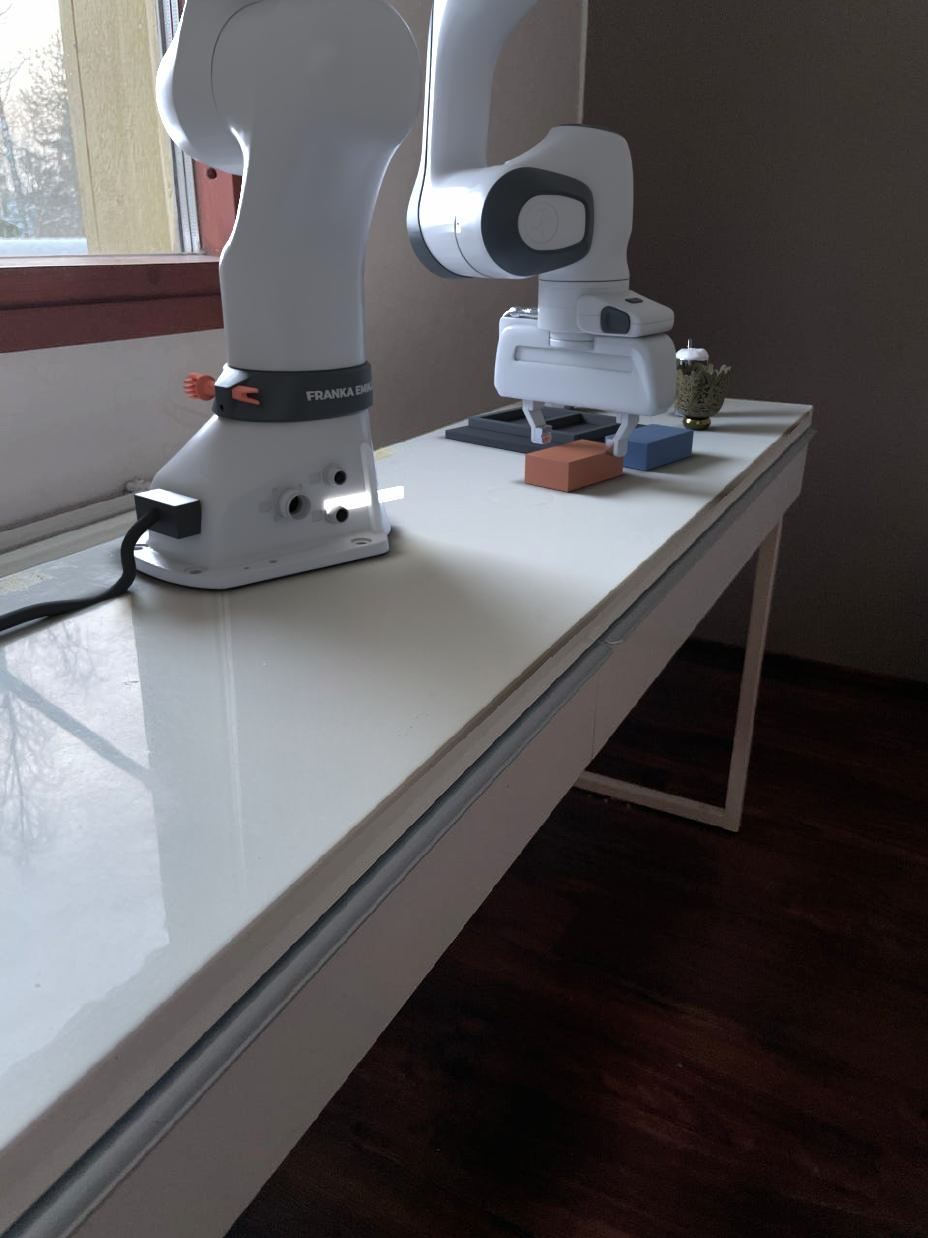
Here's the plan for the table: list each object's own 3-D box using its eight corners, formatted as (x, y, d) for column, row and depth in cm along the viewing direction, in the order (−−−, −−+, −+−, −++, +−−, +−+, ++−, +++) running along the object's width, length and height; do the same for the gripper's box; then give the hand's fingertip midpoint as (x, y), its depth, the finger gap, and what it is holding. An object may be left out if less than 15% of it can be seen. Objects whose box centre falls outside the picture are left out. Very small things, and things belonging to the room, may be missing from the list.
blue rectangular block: (645, 470, 103) (647, 443, 102) (603, 463, 106) (604, 436, 105) (691, 455, 110) (694, 429, 109) (650, 448, 113) (652, 423, 112)
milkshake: (699, 411, 137) (706, 339, 133) (704, 418, 132) (712, 343, 128) (667, 410, 137) (673, 338, 133) (671, 417, 132) (678, 342, 128)
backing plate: (561, 460, 108) (562, 440, 107) (445, 437, 119) (445, 420, 118) (654, 433, 122) (656, 416, 121) (542, 416, 133) (542, 400, 132)
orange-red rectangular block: (567, 492, 95) (569, 462, 94) (524, 482, 98) (525, 454, 97) (622, 474, 102) (624, 446, 100) (580, 466, 105) (581, 439, 104)
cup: (655, 427, 125) (660, 365, 122) (688, 420, 130) (694, 360, 127) (703, 436, 120) (710, 371, 117) (736, 428, 125) (743, 366, 122)
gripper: (481, 307, 98) (482, 440, 103) (655, 318, 86) (645, 469, 91) (519, 302, 102) (517, 430, 108) (689, 312, 90) (678, 457, 95)
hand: (577, 448), depth 99 cm, fingers open, 8 cm apart
